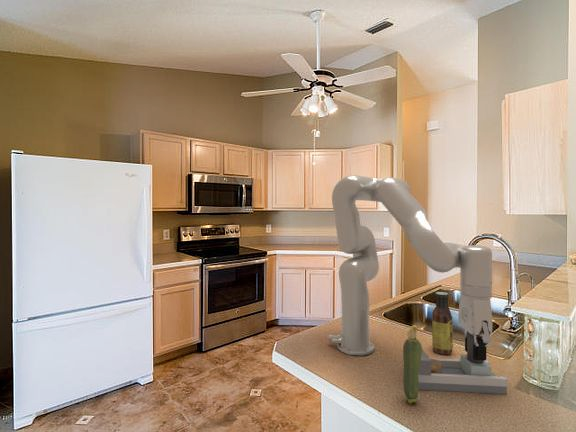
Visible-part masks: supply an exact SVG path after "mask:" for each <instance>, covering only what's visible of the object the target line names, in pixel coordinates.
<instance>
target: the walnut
mask: <svg viewBox="0 0 576 432" xmlns="http://www.w3.org/2000/svg"><path fill="white" fill-rule="evenodd" d="M430 360H431V373H436V374H441V362H440V361H438V360H435V359H430Z"/></svg>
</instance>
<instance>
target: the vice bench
mask: <svg viewBox="0 0 576 432" xmlns="http://www.w3.org/2000/svg"><path fill="white" fill-rule="evenodd" d="M430 359H435V360H438V361H440V362H441V374H436V373H431V360H430ZM485 361H486V362H487V363H488V364H489V365H490V362H489V361H488V360H485ZM460 364H461V358H460V359H459V358H458V359H455V358H436V357H435V358H432V357H431V358H430V357H429V356H428V354H427V353H426V351H425V350H424V349H423V348H422V356H421V362H420V367H419V375H418V378H419V387H418V391H419V390H421V391H440V392H456V393H458V392H459V393H477V394H495V395H496V394H498V395H507V394H508V393H507V392H508V378H506V377H505V376H497V375H495V374H494V373H493V372H492V371H491V376H479V375H466V374H465V373H464V371H463V370H462V369H461V368H460Z"/></svg>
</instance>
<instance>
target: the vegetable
mask: <svg viewBox="0 0 576 432" xmlns="http://www.w3.org/2000/svg"><path fill="white" fill-rule="evenodd" d="M417 332H419V329H418V325H417V324H413V325H411V326H410V328H409V329H408V331H407V336H408V338H406V339H405V341H404V343H403V346H402V347H403V348H402V350H403V351H402V353H403V356H402V357H403V382H402V385H403V392H404V396H405V397H406V399H407V402H408V403H409V405H412V404H411V403H416V402H417V400H418V397H419V390H418V387H419V378H418V375H419V367H420V362H421V356H422V349H423V347H422V343H421V342H420V341H419V339H418V338H417Z"/></svg>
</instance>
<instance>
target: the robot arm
mask: <svg viewBox="0 0 576 432" xmlns="http://www.w3.org/2000/svg"><path fill="white" fill-rule="evenodd" d="M409 185H410V184H408V182H406V180H404V179H401V178H397V177H385V178H381V177H379V178H378V177H371V176H362V175H356V174H355V175H354V174H351V175H347V176H344V177H342V178H340V180H339V181H338V182H337V183H336V184H335V186H334V188H333V189H332V193H331V202H332V203H331V204H332V210H333V213H334V221H335V222H334V223H335V229H336V237H337V242H338V247H339V249H340V250H341V252H343V253H344V254H348V255H352V257H350V258H348V259H345V260H344V261H343V262H342V263H341V265H339V269H338V278H339V284H340V285H339V286H340V293H341V294H340V296H341V297H340V298H341V330H340V332H339V333H337V334H332V333H331V334H328V341H332V343H334V344H335V343H337V344H336V346H337V349H338V350H339V351H340V352H342V353H344V354H347V355H350V356H354V357H355V356H356V357H357V356H359V357H361V356H368V355H370V354H372V353H373V352H374V350H375V345H374V344H373V342H372V341H370V293H369V288H368V283H367V282H369V281H371V280H373V279H375V278H376V276H377V275H378V273H379V269H380V268H379V267H380V266H379V265H380V264H379V258H378V251H377V245H376V238H375V236H374V233H373V232H372V231H371V230H370V228H368V227H367V226H364V225H361V220H360V213H359V209H358V208H357V204H356V202H357V201H368V202H369V201H370V202H377V203H381V204H382V205H383V207H385V209H386V210H387V211H388V212H389V213H390V215H391V216H392V218H394V220H396V222H397V223H398V224H399V225H400V227H401V228H402V230H403V233H404V236H406V238H407V240H408V242H409V244H410V245H411V248H412V249H413V250H414V252H416V254H417V255H418V256H419V257H420V259H421V260H422V261H423V262H424V263H425V264H426V266H427V267H428V268H430V270H432V271H435V272H437V273H440V274H441V273H442V274H443V273H447V272H450V271H452V270H453V269H455V268H459V270H460V272H459V273H460V274H459V275H460V279H459V281H460V282H459V283H460V284H459V286H460V287H459V288H460V289H459V292H460V293H459V294H460V296H459V302H458V303H459V305H458V318H457V319H458V324H459V325H460V326H461V327H462V328H463V329H464V351H465V352H466V353H467V331H468V332H469V333H470V334H471V335H474V343H475V345H473V359H474V360H484V361H487V348H488V344H489V343H491V341H492V339H491V335H492V334H493V333H492V332H493V315H492V314H493V313H492V301H491V299H492V298H493V295H492V294H493V250H492V249H491V248H490V247H488V246H485V245H476V244H475V245H473V244H472V245H471V244H470V245H468V244H467V245H463V244H457V243H454V242H453V243H452V242H443V240H442V239H441V238H440V237H439V236H438V235H437V234H436V232H435V231H434V230H433V228H432V226H431V225H430V222H429V220H428V214H427V211H426V209H425V208H424V207H423V206H422V205H421V203H419V201H418V200H417V199H416V198H415V197H414V196H413V195H412V194H411V188H410V186H409ZM480 332H482V334H479V333H480ZM478 337H483V338H480V339H479V340H478Z"/></svg>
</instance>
